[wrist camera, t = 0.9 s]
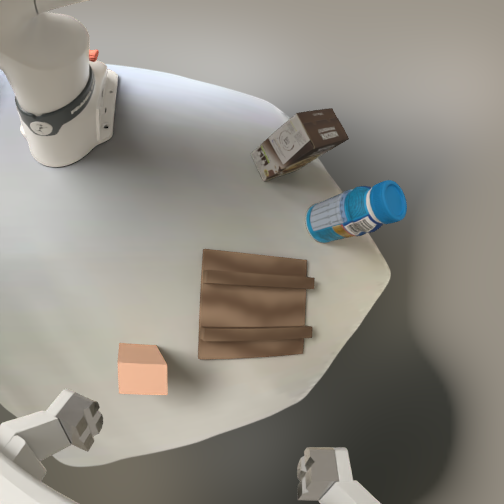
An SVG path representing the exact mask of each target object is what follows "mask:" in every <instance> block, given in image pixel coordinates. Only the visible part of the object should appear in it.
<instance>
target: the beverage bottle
mask: <svg viewBox="0 0 504 504" xmlns="http://www.w3.org/2000/svg"><path fill="white" fill-rule="evenodd" d="M406 210H407V204H406V199H405V196H404V193H403V191H402V189H401V188H400V186H399V185H398V184H396V182H394V181H391V180H388V181H383V182H381V183H379V184H376V185H374V186H373V187H372V188H371V187H367V186H359V187H356V188H354V189H352V190H347V191H345V192H343V193H341V194H339V195H337V196H334V197H332V198H330V199H327V200H325V201H323V202H320V203H317V204H315V205H313V206H311V207H310V208H309V210H308V211H307V214H306V218H305V222H306V228H307V230H308V232H309V234H310V235H311V237H312V238H313V239H315V240H316V241H318V242H321V243H326V242H330V241H333V240H338V239H343V238H347V237H352V236H361V235H364V234H366V233H371V232H374V231H376V230H377V229H379V228H380V227H381V226H382V224H389V223H394V222H398V221H400V220H402V219H403V218H404V217H405V214H406Z"/></svg>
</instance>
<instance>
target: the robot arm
mask: <svg viewBox="0 0 504 504" xmlns="http://www.w3.org/2000/svg"><path fill="white" fill-rule="evenodd" d="M83 1H88V0H0V69H1V70H2V71H3V72H4V74H5V75H6V77H7V79H8V81H9V83H10V85H11V87H12V89H13V91H14V93H15V102H16V106H17V110H18V112H19V116H20V120H21V123H22V125H21V127H20V130H21V133H22V135H23V136H24V137H25V138H26V139H27V141H28V145H29V149H30V152H31V154H32V155H33V157H34V158H35V159H36V160H37V161H38V162H39V163H41V164H43V165H46V166H50V167H61V166H66V165H69V164H72V163H74V162H76V161H78V160H80V159H81V158H83V157H84V156H85V155H86V154H88V153H89V152H90V151H91V150H92V149H93V148H94V147H95V146H96V145H98V144H101V143H103V142H105V141H107V140H109V139H110V138H111V137H112V135H113V123H114V112H115V102H116V93H117V85H118V75H117V74H116V73H115V72H113V71H112V70H110V69H107V66H106V65H105V64H104V63H102V62H100V61H97V57H98V50H89V34H88V32H87V30H86V28H85V27H84V25H83V24H82V23H81V22H79V21H78V20H77V19H75V18H73V17H71V16H68V15H63V14H56V13H51V12H48V11H49V10H53V9H56V8H60V7H63V6H67V5H71V4H75V3H79V2H83ZM105 127H108V128H107V129H105ZM99 408H100V407H99V404H98V402H96V401H94V400H91V399H89V398H87V397H85V396H82V395H80V394H78V393H76V392H74V391H72V390H70V389H67V388H66V389H64V390H63V391H62V392H61V393H60V395H59V396H58V397H57V398H56V399H55V401H54V402H53V403H52V404H51V405H50V407H49V408H48V409H47V410H46V411H44V410H42V411H39V412H36V413H33V414H30V415H27V416H23V417H20V418H17V419H14V420H10V421H7V422H3V423H2V424H1V425H0V504H79V503H77V502H75V501H73V500H71V499H69V498H68V497H66V496H64V495H62V494H61V493H59V492H57V491H55V490H54V489H52V488H50V487H49V486H47V485H46V484H44V483H43V482H41V481H42V479H43V477H44V476H45V474H46V469H45V467H44V466H43V465H42V464H41V462H40V461H41V460H43V459H45V458H47V457H49V456H51V455H53V454H55V453H57V452H59V451H61V450H63V449H65V448H67V447H68V446H70V445H71V444H72V445H74V446H76V447H79V448H81V449H83V450H85V451H87V452H88V451H89V449H90V447H91V446H92V444H93V442H94V437H93V436H94V435H97V434H99V432H100V430H101V429H102V425H103V416H102V414H101V413H100V412H99V411H98V409H99ZM297 478H298V479H299V480H300V481H301V482H300V483H299V485H298V487H297V493H298V500H319V502H320V504H381V503H380V502H379V501H378V500H376V499H375V498H374V497H373V496H372V495H371V494H370V493H369V492H368V491H367V490H366V489H365V488H364V487H363V486H362V485H361V484H360V483H359V482H358V481H353V477H352V471H351V466H350V461H349V456H348V451H347V449H346V448H344V447H340V448H332V447H308V448H306V450H305V451H304V456H303V457H301V459H300V461H299V464H298V468H297Z"/></svg>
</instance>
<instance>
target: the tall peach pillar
mask: <svg viewBox="0 0 504 504" xmlns="http://www.w3.org/2000/svg"><path fill="white" fill-rule="evenodd" d="M118 381H119V393H120V394H142V395H168V391H167V363H166V362H165V360H164V358H163V356H162V355H161V353H160V351H159V349H158V347H157V346H156V345H142V344H126V343H119V353H118Z"/></svg>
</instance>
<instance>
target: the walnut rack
mask: <svg viewBox="0 0 504 504" xmlns="http://www.w3.org/2000/svg"><path fill="white" fill-rule="evenodd" d="M306 275H307V260H302V259H293V258H283V257H274V256H265V255H256V254H247V253H238V252H229V251H220V250H210V249H203V259H202V275H201V293H200V315H199V344H198V358H199V359H233V358H254V357H269V356H282V355H293V354H303V343H304V338H312V327H311V326H305V304H306V289H314V278H310V277H306Z"/></svg>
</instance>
